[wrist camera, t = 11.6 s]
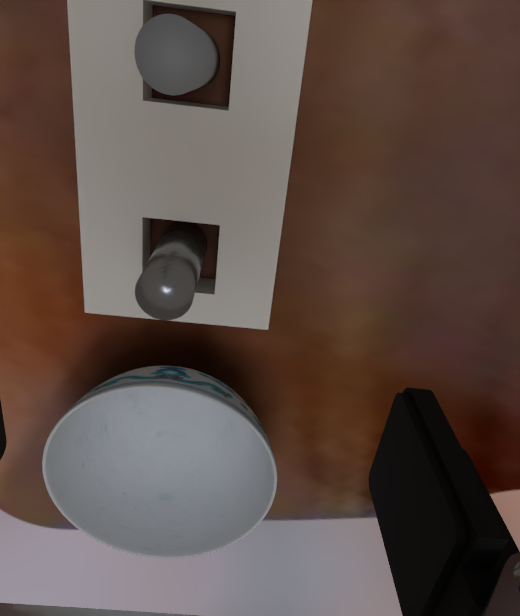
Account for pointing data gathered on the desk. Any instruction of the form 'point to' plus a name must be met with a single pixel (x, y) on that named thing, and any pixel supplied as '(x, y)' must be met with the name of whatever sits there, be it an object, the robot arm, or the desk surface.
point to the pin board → (184, 146)
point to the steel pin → (172, 272)
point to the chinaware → (161, 464)
